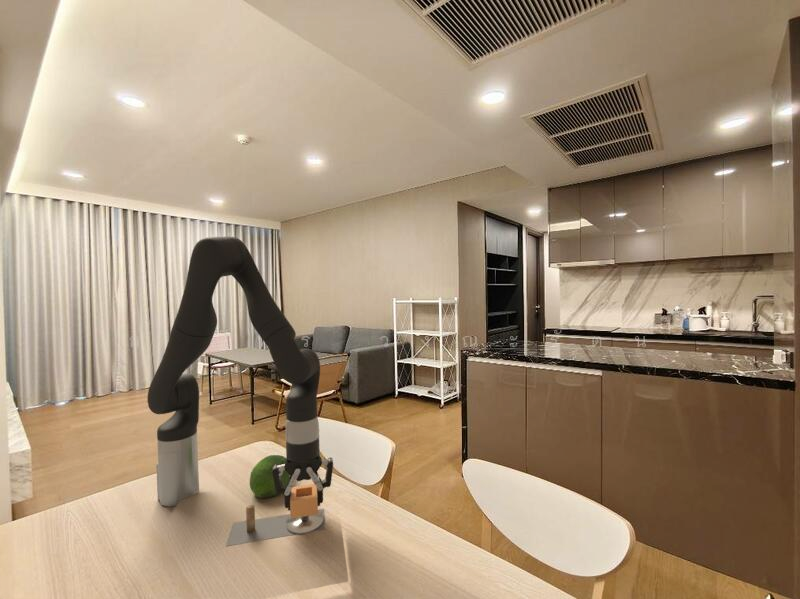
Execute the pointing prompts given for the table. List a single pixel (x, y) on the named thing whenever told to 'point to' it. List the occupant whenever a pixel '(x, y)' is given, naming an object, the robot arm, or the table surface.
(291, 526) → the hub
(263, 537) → the board
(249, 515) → the stand rod
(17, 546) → the table surface
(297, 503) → the collar
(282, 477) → the fruit
